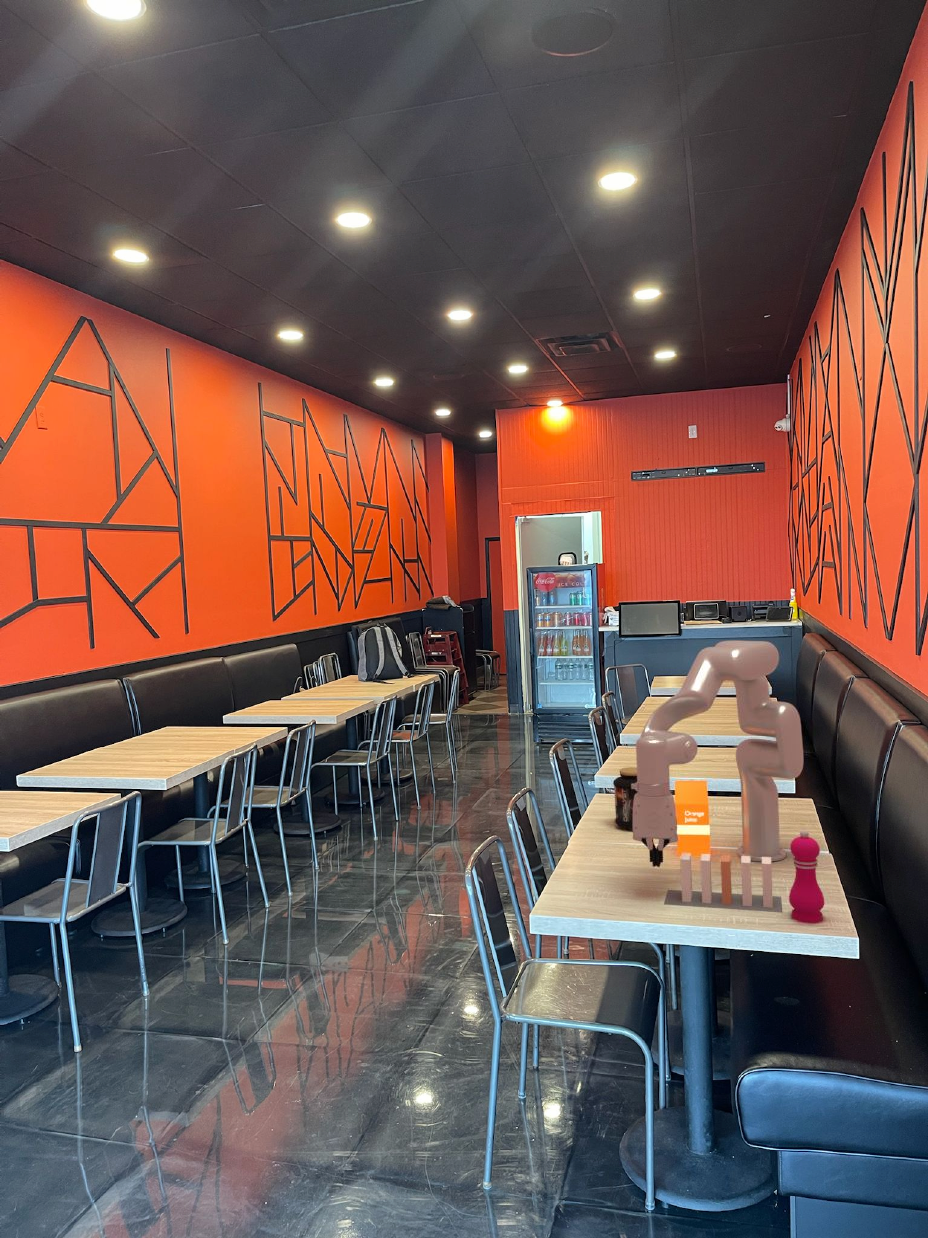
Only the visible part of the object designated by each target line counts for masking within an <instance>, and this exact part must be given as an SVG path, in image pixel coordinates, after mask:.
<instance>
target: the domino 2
mask: <svg viewBox="0 0 928 1238" xmlns="http://www.w3.org/2000/svg"><path fill="white" fill-rule="evenodd" d="M711 867H712V863H711V853H710V854H702V855H701V856H700V881H701V882H700V883H701V892H702V903H711V900H712V892H713V889H712V883H713V882H712V868H711Z"/></svg>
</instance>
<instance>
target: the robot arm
mask: <svg viewBox="0 0 928 1238" xmlns="http://www.w3.org/2000/svg"><path fill="white" fill-rule="evenodd" d="M779 662H780V654H779V651H778V649H777V647H776V646H775V644H773V643H771V642H769V641H764V640H762V641H761V640H723V641H719V642H717V643H716V644H715V645H714V646H708V647H705V648H703V649H701V650H700V651H699V652H698V654H697V656H696V657H695V659H694V661H693V663H692V665H691V668H690V669H689V672H688V673H687V676H686V677H685V679H684V681H683V684H682V685H681V688H680V690H679V691H678V692H677V693H676V694H675V695H673V696H672V697H670V698H669V699H667V700H666V701H665V702H663V703H662V704H661V705H659V706H658V707H657V708H656V709H655V710H654V711H653V712H652V713H651V715H649V718H648V719H647V721H646V723H645V725H644V727H643V729H642V731H641V734H640V737H639V738H638V739H637V740H636V742H635V751H636V752H635V753H636V756H635V757H636V767H637V782H636V783H635V784H631V788H632V789H635V790H636V791H637V793H636V794H635V796H634V802H633V830H632V833H633V834H632V840H634V841H637V842H641V843H642V844H643V845H644V846H645V847H646V848H647V850H649V853H648V854H649V863H652V867H653V868H660V867H661V864H663V863H664V850H663V849H665V847H667V846H668V845H669V844H674V843H677V842H678V840H679V837H678V834H677V816H676V808H675V797H674V795H673V793H671V786H670V785H671V784H670V783H671V782H670V779H671V778H670V766H675V765H676V766H677V765H678V766H679V765H681V766H682V765H685V764H689V763H690V762H692V761H693V760H694V759H695V757H696V756H697V754H698V744H697V741H696V739H695V738H694V737H693V736H691V735H690V734H687V733H684V732H677V731H670V729H671V728H672V727H673V726H675V725H676V724H677V723H679V722H681V721H683V720H686V719H688V718H691V717H694V716H695V717H696V716H697V715H701V714H703V713H705V712H707V711H709V710H710V709H711V708H712V706H713V704H714V701H715V699H716V697H717V695H718V693H719V691H720V688H721V686H722V685H723V683H724V682H726V681H727V682H733V685H734V689H735V697H736V698H735V699H736V707H737V718H738V719H737V720H738V723H739V724H738V725H739V727H740V730H741V731H742V732H744V733H746V734H748V735H752V736H758V737H759V736H760V737H769V738H775V740H772V739H763V738H747V739H744V740H741V742H740V743H739V744H738V745H737V747H736V751H735V761H736V766H737V768H738V774H739V780H740V793H741V794H740V795H741V796H740V797H741V798H740V799H741V800H740V801H741V803H740V805H741V827H742V829H741V830H742V831H741V832H742V833H741V834H742V845H740V846H739V847H737V850H736V851H737V855H738V857H740V858H741V856H750V858H751V861H753V862H762V857H771V862H778V861H781V860H785V858H786V857H787V851H786V850H785V849H784V848H782V847H781V842H780V841H781V838H780V837H781V836H780V835H781V834H780V811H779V792H778V791H779V789H778V787H777V785H776V782H775V781H774V779H773V778H778V779H788V780H793V779H796V778H799V776H800V775H801V773H802V771H803V768H804V748H803V747H804V746H803V735H802V724H801V717H800V713H799V712H798V710H797V708H796V707H795V706H794V704H792V703H789V702H787V701H786V702H785V701H774V700H772V699H771V695H770V690H769V689H770V688H769V682H768V679H767V677H766V676H768V675H770V674H772V673H773V672H774V671H775V670H776V669H777V666H778V665H779ZM654 839H655V840H657V839H658V842H657V846H656V844H655V843H654Z"/></svg>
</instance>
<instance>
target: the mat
mask: <svg viewBox="0 0 928 1238" xmlns="http://www.w3.org/2000/svg"><path fill="white" fill-rule="evenodd" d="M772 898H773V908H770V907H764V906H763V894H762V895H759V894H752V906H743V898H742V893H732V903H731V905H727V904H722V892H714V891H712V900H711V903H702V891H700V890H699V891H696V890H695V891H694V890H692V900H691V902H682V889H681V890H680V889H667V891H666V894H665V898H664V901H663V905H664V906H665V905H667V906H681V907H694V908H695V907H696V908H698V907H699V908H708V909H709V908H710V909H711V908H712V909H724V910H725V909H726V910H738V911H741V910H742V911H752V912H753V911H755V912H769V913H783V912H784V911H783V904H782V903H783V901H782V896H778V895H776V896H775V895H772Z"/></svg>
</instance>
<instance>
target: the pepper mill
mask: <svg viewBox="0 0 928 1238" xmlns="http://www.w3.org/2000/svg"><path fill="white" fill-rule="evenodd" d="M809 834H810V833H809V831H808V830H807V829H802V830H800V832H799V835H800V836H797V837H795V838H793V839H792V840H791V843H790V849H789V850H790V852H791V854H792V856H793V859H792V860H793V862H792V864H793V866H794V867H795V878H794V880H793V881H794V882H793V884H792V887H791V888H790V892H789V894H788V895H789V896H788V900H789V901H788V903H789V904H790V906H791V907H792V910H791V919H793V920H795V921H797V922H799V923H804V924H816V923H821V922H822V921H823V912H822V911H821V910H822V909H823V908H824V906H825V898H824V897H825V896H824V894H823V892H822V890H821V887H820V886H819V884H818V881H817V875H816V873H817V872H816V871H817V869H816V868H818V866H819V865H818V859H817V858H818V856H819V855H820V852H821V851H820V845H819V843H818V842H817V841H816V839H814V838H813V837H811V836H810V835H809Z"/></svg>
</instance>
